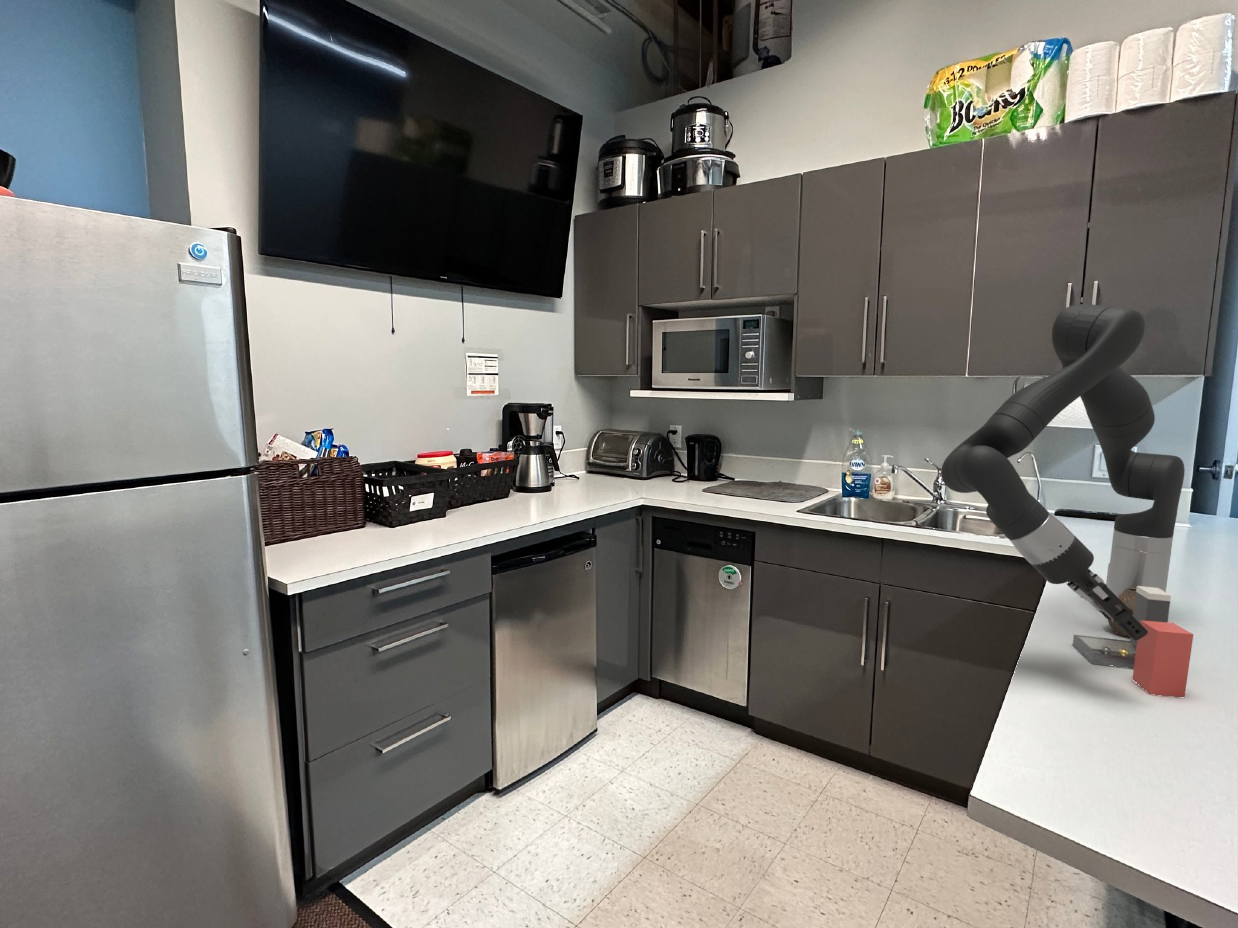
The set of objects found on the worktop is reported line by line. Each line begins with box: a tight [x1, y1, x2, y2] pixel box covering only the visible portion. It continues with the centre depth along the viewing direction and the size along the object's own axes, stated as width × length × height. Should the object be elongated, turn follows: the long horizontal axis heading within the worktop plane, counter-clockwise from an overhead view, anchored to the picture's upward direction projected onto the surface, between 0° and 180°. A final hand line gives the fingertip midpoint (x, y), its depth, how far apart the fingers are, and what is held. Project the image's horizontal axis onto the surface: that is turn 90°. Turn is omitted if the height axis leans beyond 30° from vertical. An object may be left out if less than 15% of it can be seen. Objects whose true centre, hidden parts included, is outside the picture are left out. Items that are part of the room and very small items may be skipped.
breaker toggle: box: [1129, 586, 1172, 647], centre depth 104 cm, size 3×4×10 cm
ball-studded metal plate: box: [1072, 634, 1136, 669], centre depth 106 cm, size 13×8×5 cm, turn 73°
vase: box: [1106, 588, 1136, 638], centre depth 117 cm, size 7×7×9 cm
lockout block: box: [1131, 620, 1194, 698], centre depth 95 cm, size 4×4×10 cm
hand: (1127, 625), depth 96 cm, fingers open, 8 cm apart
